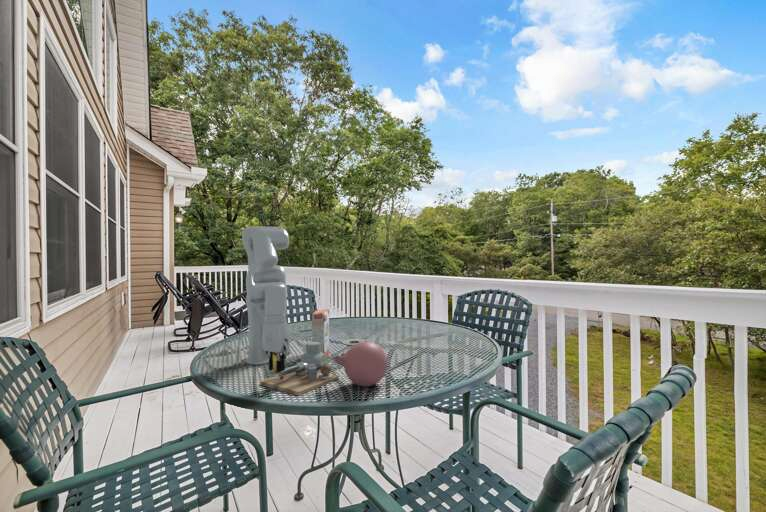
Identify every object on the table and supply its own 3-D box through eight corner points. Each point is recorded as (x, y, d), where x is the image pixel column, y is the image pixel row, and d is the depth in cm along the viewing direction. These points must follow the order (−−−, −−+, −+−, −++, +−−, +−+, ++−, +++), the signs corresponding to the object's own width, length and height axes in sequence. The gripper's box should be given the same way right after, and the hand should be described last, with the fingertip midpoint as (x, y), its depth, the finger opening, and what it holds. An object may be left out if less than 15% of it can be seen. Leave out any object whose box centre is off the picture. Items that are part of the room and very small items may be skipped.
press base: (260, 384, 135) (259, 369, 135) (300, 370, 151) (300, 356, 151) (299, 395, 124) (298, 378, 124) (338, 378, 140) (338, 364, 140)
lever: (302, 366, 146) (301, 343, 146) (310, 368, 143) (309, 345, 143) (269, 377, 133) (269, 352, 133) (278, 379, 130) (277, 354, 130)
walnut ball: (318, 375, 138) (318, 364, 138) (325, 372, 142) (325, 362, 142) (326, 377, 136) (326, 366, 136) (333, 374, 139) (333, 363, 139)
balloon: (339, 376, 142) (338, 336, 142) (390, 378, 139) (390, 337, 139) (325, 391, 127) (324, 346, 127) (383, 394, 124) (382, 347, 124)
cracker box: (325, 360, 165) (324, 313, 165) (311, 360, 165) (310, 313, 165) (330, 352, 179) (329, 308, 179) (317, 352, 179) (316, 309, 179)
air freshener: (318, 371, 150) (318, 346, 150) (299, 370, 151) (298, 346, 151) (327, 363, 160) (326, 340, 160) (308, 363, 162) (308, 340, 162)
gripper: (252, 318, 134) (253, 369, 134) (283, 322, 125) (284, 377, 125) (269, 315, 140) (270, 364, 140) (299, 319, 131) (300, 371, 131)
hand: (276, 369), depth 133 cm, fingers open, 3 cm apart
